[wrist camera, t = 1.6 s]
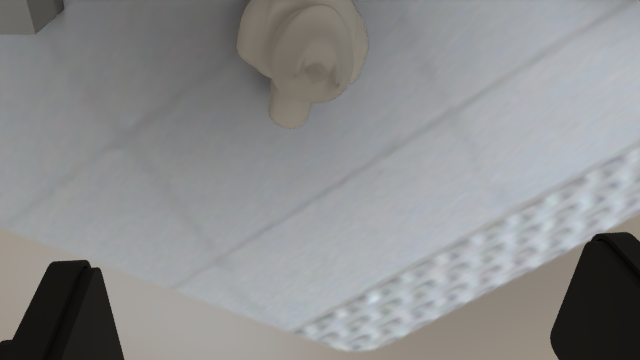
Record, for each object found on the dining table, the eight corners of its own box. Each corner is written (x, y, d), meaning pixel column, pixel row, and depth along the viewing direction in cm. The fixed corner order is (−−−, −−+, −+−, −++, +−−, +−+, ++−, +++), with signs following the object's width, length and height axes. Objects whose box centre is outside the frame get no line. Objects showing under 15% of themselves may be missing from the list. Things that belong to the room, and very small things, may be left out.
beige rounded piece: (376, -27, 23) (427, 27, 16) (333, 107, 26) (361, 198, 19) (254, -61, 21) (254, -18, 15) (226, 84, 25) (216, 173, 18)
